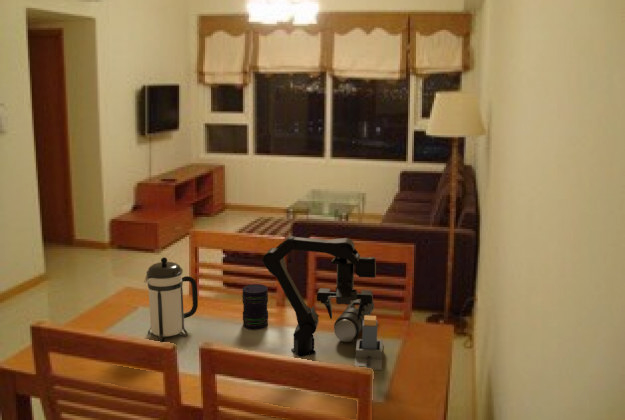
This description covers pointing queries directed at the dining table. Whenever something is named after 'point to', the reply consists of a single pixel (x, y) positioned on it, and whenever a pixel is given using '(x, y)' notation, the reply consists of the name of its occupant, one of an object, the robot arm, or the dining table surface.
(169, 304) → the coffee press
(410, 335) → the dining table surface
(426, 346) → the dining table surface
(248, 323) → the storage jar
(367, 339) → the orange-capped square pillar
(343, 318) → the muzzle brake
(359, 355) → the end holder
